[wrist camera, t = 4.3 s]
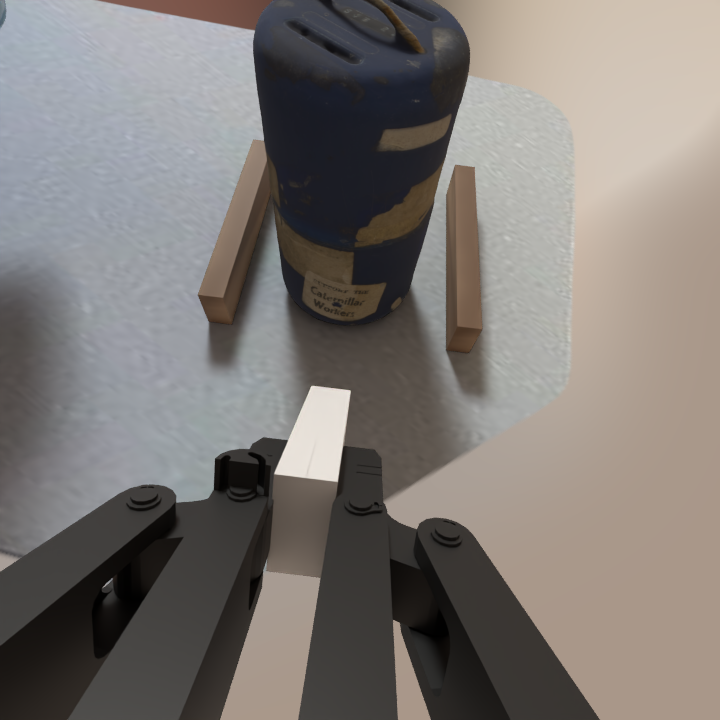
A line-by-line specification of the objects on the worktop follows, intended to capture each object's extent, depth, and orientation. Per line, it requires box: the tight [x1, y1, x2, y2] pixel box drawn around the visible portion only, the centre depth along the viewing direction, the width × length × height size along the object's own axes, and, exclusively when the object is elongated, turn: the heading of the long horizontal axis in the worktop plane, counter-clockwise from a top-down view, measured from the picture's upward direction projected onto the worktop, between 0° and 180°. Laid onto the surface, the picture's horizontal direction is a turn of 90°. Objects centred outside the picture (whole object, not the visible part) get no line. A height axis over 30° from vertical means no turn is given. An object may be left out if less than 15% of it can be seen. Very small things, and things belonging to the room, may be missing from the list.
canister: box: [253, 0, 470, 325], centre depth 25 cm, size 10×10×18 cm
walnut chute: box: [198, 140, 482, 353], centre depth 33 cm, size 18×16×3 cm
